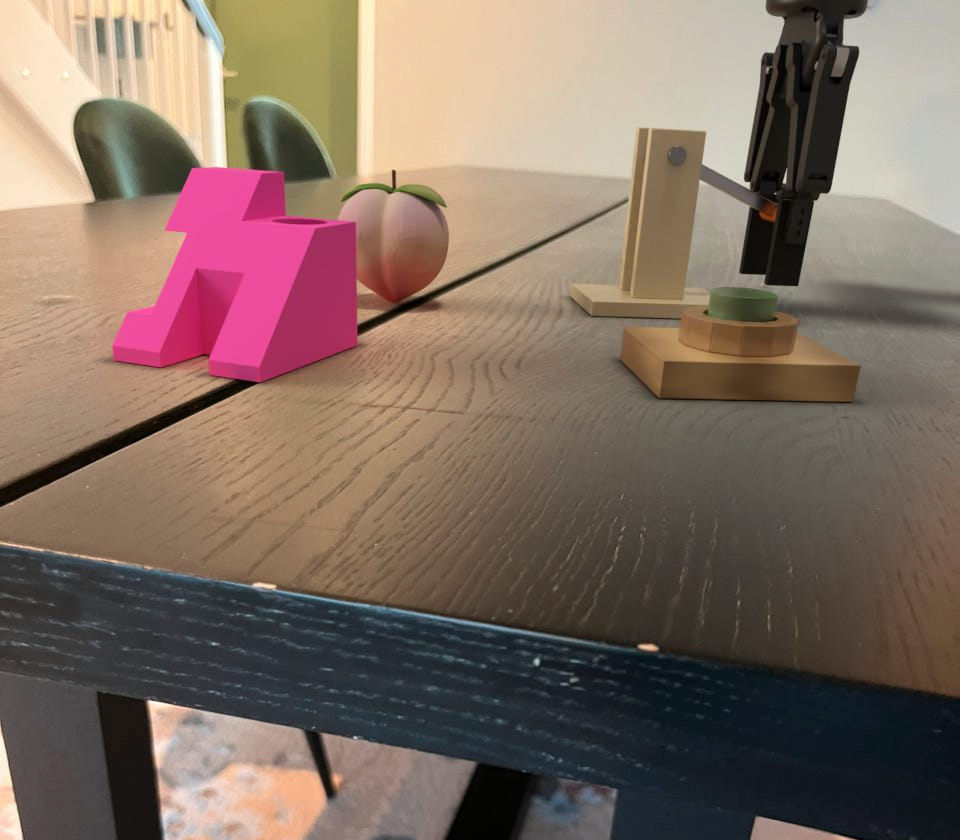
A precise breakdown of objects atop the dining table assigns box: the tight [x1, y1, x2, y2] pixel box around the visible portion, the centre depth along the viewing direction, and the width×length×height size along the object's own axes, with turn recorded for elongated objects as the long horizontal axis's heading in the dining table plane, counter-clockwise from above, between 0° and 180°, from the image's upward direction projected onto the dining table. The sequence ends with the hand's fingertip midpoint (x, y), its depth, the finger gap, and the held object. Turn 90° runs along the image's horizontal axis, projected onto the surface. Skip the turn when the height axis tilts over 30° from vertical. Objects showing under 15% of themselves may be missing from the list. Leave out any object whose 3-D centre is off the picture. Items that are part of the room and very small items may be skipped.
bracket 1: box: [111, 166, 359, 383], centre depth 60 cm, size 12×10×10 cm
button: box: [707, 286, 778, 322], centre depth 60 cm, size 4×4×2 cm
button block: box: [619, 305, 862, 403], centre depth 61 cm, size 12×10×4 cm
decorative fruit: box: [337, 169, 450, 304], centre depth 79 cm, size 9×8×10 cm
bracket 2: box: [570, 126, 711, 320], centre depth 81 cm, size 12×9×14 cm
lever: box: [643, 154, 778, 222], centre depth 80 cm, size 13×6×2 cm, turn 95°
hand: (767, 278), depth 84 cm, fingers closed on lever, 5 cm apart
